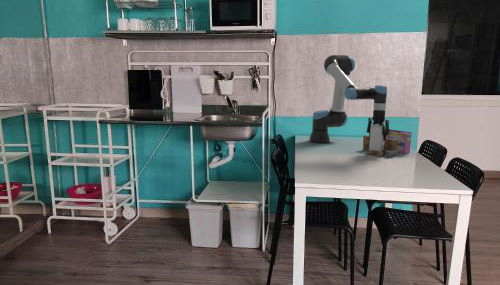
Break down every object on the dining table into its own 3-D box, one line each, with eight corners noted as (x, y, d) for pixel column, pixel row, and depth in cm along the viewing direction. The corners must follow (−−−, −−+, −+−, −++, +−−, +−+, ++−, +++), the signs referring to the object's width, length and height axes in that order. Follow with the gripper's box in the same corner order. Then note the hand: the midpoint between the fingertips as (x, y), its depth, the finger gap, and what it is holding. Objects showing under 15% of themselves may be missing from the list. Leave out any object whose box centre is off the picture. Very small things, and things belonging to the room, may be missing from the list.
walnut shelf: (354, 151, 263) (355, 137, 261) (363, 149, 271) (364, 135, 269) (387, 158, 246) (389, 142, 244) (397, 155, 254) (398, 140, 253)
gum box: (372, 148, 277) (373, 129, 274) (378, 146, 282) (379, 127, 280) (404, 153, 260) (406, 133, 257) (410, 152, 265) (412, 132, 262)
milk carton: (373, 149, 262) (375, 120, 259) (383, 150, 258) (385, 121, 254) (369, 150, 257) (370, 122, 253) (379, 152, 252) (381, 123, 249)
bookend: (384, 157, 248) (385, 151, 248) (392, 154, 256) (393, 148, 255) (388, 157, 247) (389, 151, 246) (396, 155, 254) (396, 149, 253)
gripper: (362, 108, 257) (360, 142, 261) (391, 111, 243) (388, 147, 247) (368, 108, 262) (365, 141, 266) (397, 110, 248) (394, 146, 252)
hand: (376, 144), depth 257 cm, fingers closed on milk carton, 7 cm apart
